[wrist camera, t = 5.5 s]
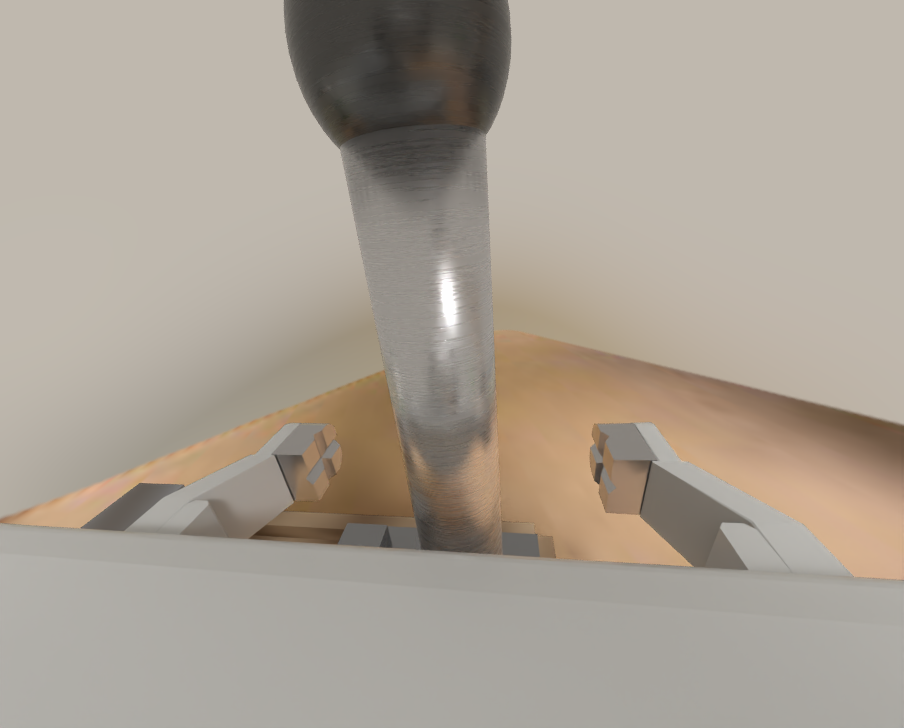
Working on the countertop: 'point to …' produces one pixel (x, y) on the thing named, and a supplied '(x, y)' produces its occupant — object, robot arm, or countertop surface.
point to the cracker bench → (278, 520)
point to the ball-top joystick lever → (422, 237)
